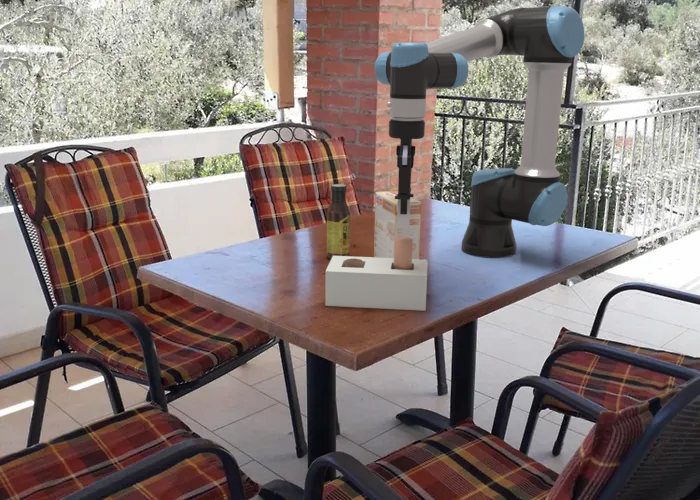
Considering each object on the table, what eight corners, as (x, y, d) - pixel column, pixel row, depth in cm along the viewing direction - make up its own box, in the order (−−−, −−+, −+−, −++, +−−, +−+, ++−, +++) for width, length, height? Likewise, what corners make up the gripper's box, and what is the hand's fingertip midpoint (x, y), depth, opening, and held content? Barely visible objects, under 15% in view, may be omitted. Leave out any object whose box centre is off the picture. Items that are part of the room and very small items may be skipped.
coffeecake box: (419, 279, 175) (422, 201, 169) (392, 281, 173) (394, 203, 167) (398, 262, 189) (400, 190, 183) (372, 264, 187) (374, 191, 181)
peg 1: (362, 292, 163) (363, 258, 161) (361, 298, 159) (361, 264, 157) (345, 291, 163) (345, 258, 161) (343, 297, 160) (343, 263, 157)
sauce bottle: (347, 261, 188) (347, 188, 183) (324, 260, 189) (324, 187, 184) (352, 255, 194) (352, 183, 189) (329, 253, 196) (329, 182, 190)
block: (426, 292, 165) (427, 259, 163) (425, 310, 154) (427, 275, 152) (332, 288, 168) (333, 255, 166) (325, 305, 156) (325, 271, 154)
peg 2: (411, 271, 160) (412, 237, 158) (411, 277, 156) (412, 242, 154) (393, 270, 161) (394, 236, 159) (392, 276, 157) (393, 241, 155)
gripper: (391, 115, 156) (387, 220, 162) (387, 121, 143) (384, 234, 150) (425, 116, 155) (420, 221, 161) (424, 122, 142) (419, 235, 149)
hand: (403, 227), depth 156 cm, fingers closed
